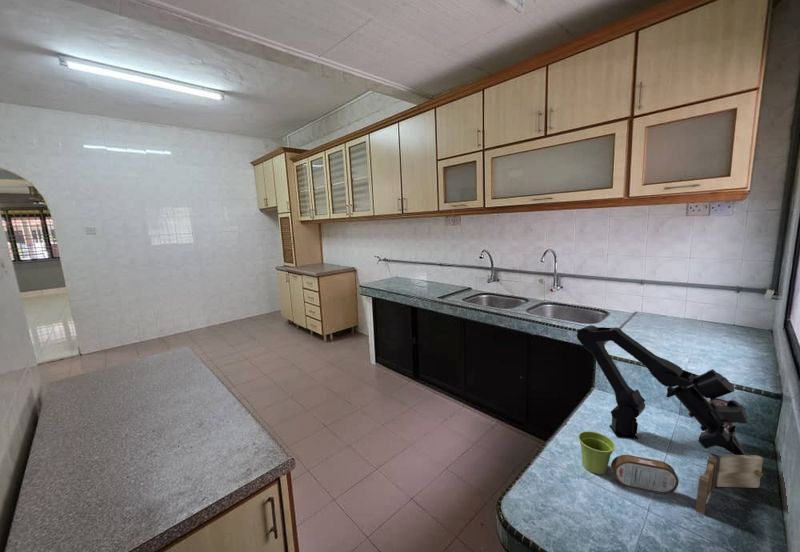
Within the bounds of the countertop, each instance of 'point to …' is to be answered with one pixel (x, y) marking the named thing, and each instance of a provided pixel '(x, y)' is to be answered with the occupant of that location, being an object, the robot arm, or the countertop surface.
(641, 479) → the tin
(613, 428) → the robot arm
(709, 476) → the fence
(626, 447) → the countertop surface
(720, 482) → the panel
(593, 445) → the plant pot
